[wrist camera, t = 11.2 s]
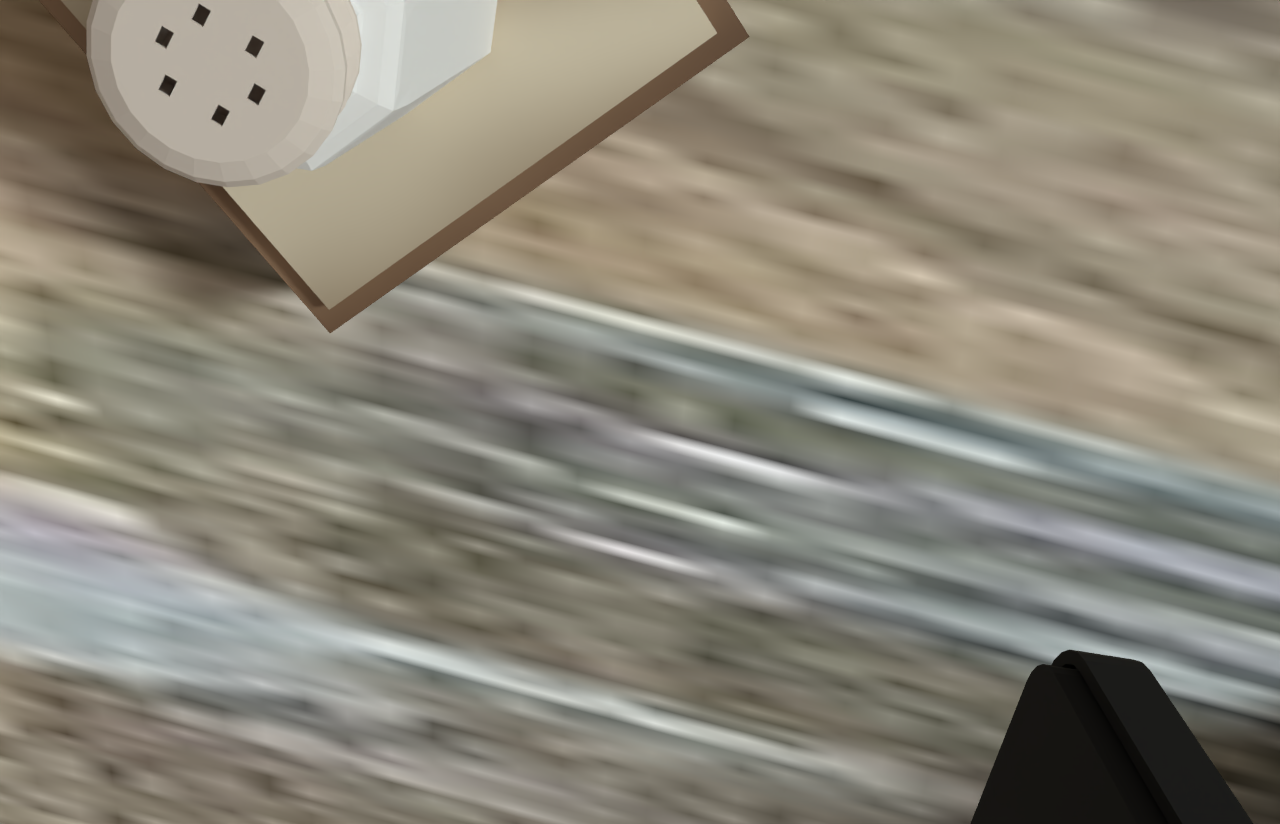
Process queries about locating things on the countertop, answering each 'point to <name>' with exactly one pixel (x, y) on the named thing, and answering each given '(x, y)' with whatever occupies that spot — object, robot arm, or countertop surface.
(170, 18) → the pepper shaker
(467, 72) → the plinth
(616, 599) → the countertop surface
